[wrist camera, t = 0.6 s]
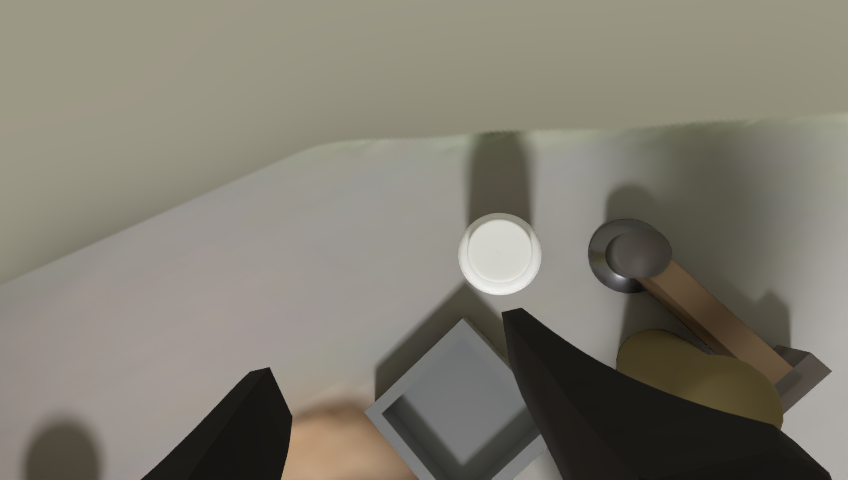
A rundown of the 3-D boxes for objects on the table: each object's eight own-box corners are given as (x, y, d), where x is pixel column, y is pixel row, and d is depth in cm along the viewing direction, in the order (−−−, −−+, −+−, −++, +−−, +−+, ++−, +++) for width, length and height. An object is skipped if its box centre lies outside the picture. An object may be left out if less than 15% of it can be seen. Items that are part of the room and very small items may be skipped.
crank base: (684, 256, 32) (685, 256, 32) (628, 308, 32) (629, 308, 32) (626, 204, 33) (626, 203, 33) (572, 255, 33) (572, 255, 33)
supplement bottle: (541, 240, 34) (560, 223, 24) (518, 302, 34) (528, 311, 24) (479, 218, 35) (472, 193, 25) (456, 278, 35) (441, 276, 25)
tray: (560, 417, 32) (566, 430, 30) (462, 507, 33) (459, 528, 30) (465, 315, 34) (462, 318, 32) (374, 402, 35) (364, 412, 32)
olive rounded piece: (676, 423, 31) (773, 500, 20) (602, 380, 32) (655, 431, 21) (714, 354, 31) (831, 394, 20) (638, 314, 32) (710, 331, 21)
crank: (588, 261, 33) (599, 258, 29) (634, 218, 32) (650, 210, 29) (743, 407, 30) (774, 423, 26) (795, 361, 29) (833, 371, 26)
